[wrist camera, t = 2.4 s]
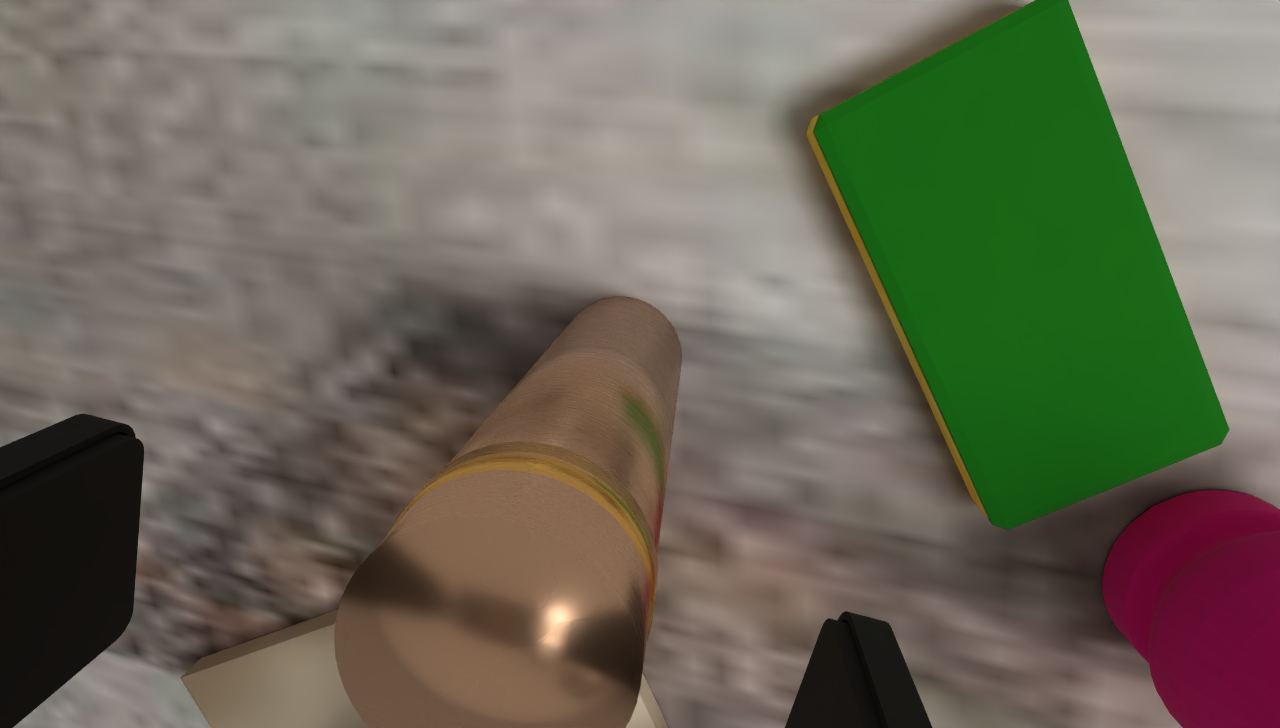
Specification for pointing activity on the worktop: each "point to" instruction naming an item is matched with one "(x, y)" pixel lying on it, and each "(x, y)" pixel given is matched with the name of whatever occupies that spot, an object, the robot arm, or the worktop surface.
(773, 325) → the worktop surface
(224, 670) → the collar stand
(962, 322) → the dish sponge
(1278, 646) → the pepper mill
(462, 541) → the tan cylinder
